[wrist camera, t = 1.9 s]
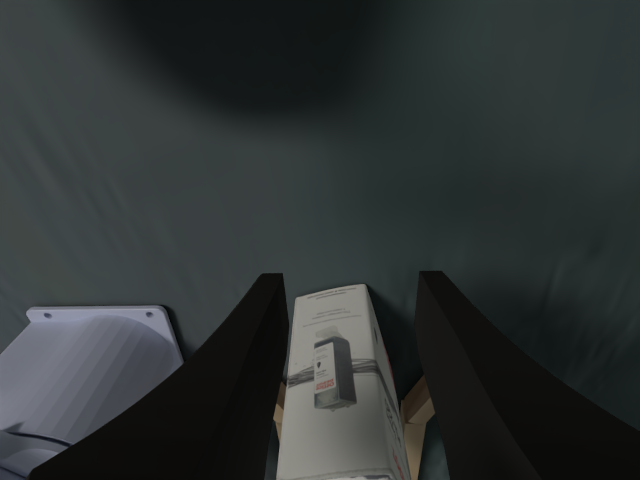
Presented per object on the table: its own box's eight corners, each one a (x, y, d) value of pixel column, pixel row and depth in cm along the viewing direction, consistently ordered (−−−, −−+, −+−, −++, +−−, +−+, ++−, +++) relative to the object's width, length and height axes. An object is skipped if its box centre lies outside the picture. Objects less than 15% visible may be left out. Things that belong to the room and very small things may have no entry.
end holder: (282, 507, 40) (280, 530, 38) (253, 365, 29) (248, 388, 27) (421, 510, 39) (424, 533, 37) (446, 365, 28) (454, 389, 26)
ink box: (397, 369, 28) (429, 575, 18) (330, 380, 29) (326, 582, 19) (369, 277, 24) (392, 480, 14) (292, 294, 25) (261, 495, 15)
